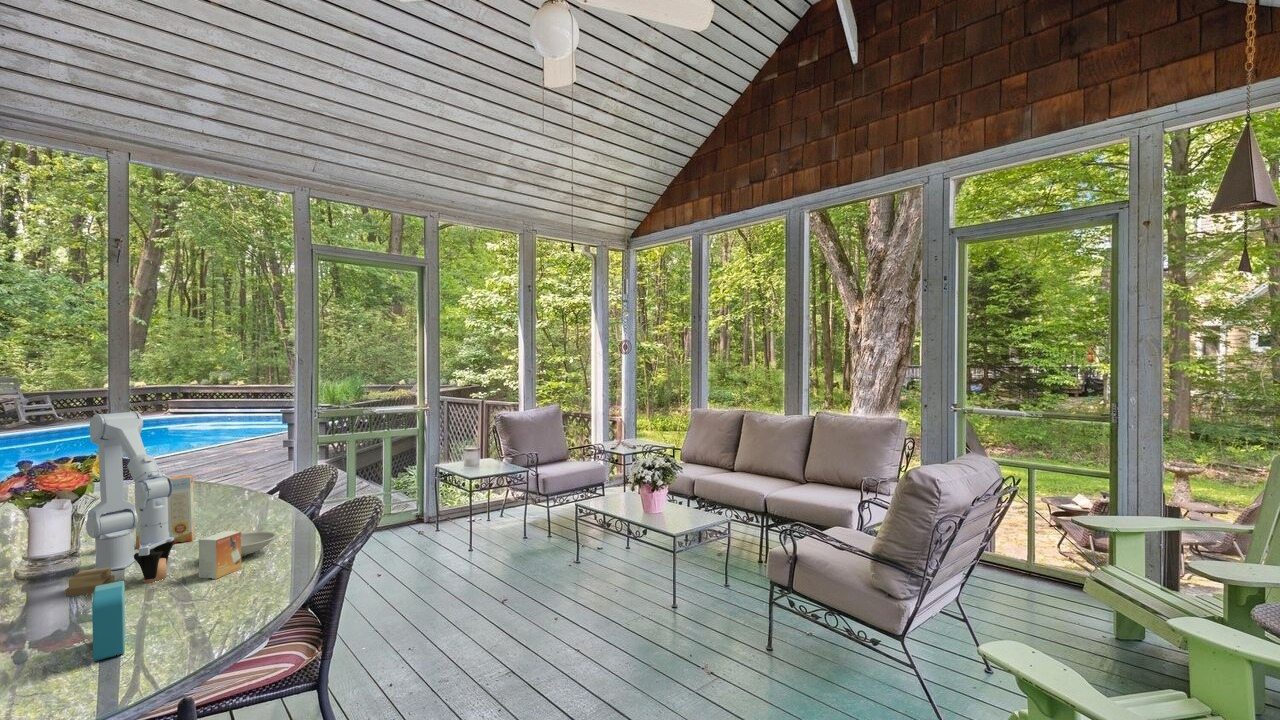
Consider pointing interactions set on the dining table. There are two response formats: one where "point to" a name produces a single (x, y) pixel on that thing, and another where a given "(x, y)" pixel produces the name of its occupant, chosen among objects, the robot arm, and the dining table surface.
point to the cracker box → (177, 510)
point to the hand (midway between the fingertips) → (155, 574)
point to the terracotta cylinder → (159, 571)
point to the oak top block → (89, 577)
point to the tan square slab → (87, 588)
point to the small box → (219, 554)
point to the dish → (255, 541)
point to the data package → (108, 620)
